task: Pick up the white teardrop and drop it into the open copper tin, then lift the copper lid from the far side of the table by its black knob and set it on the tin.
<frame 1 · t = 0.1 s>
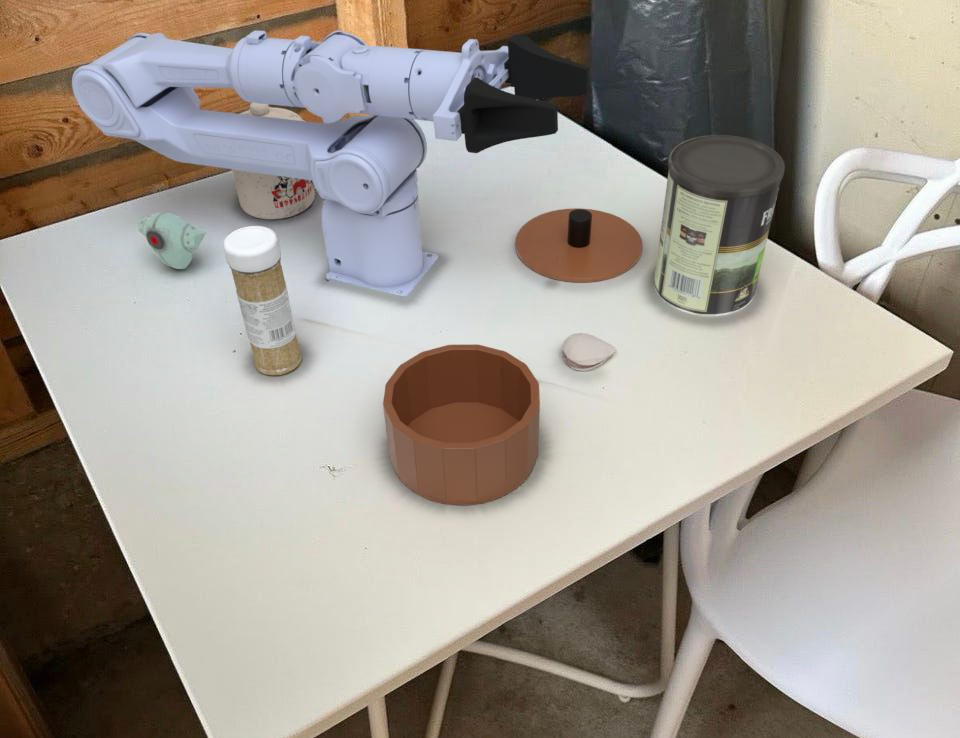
hand: (572, 99, 76), 22 cm above the table, tool horizontal, fingers open, 7 cm apart
tin: (464, 450, 79), on the table
teacup with lid: (285, 196, 108), on the table
lid: (578, 245, 98), point 1 cm above the table
coffee can: (702, 291, 94), on the table
sprinkles bottle: (278, 363, 87), on the table
robot head: (179, 271, 98), on the table
white teardrop: (588, 363, 86), on the table
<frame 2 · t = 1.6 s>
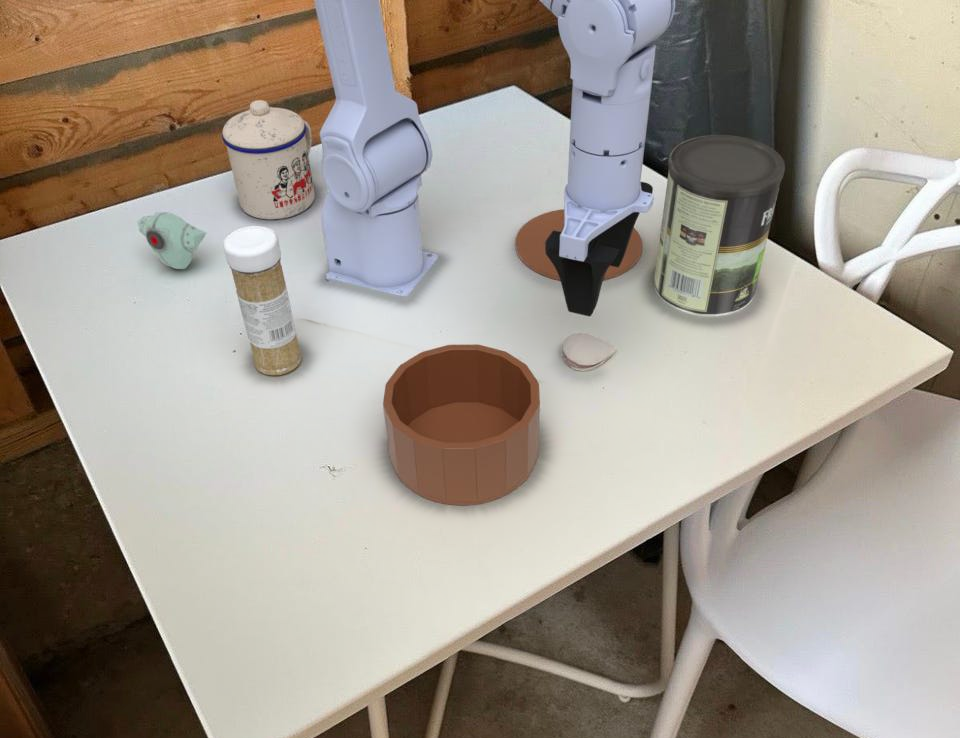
hand: (595, 286, 80), 8 cm above the table, tool pointing down, fingers open, 7 cm apart
nothing on the table moved.
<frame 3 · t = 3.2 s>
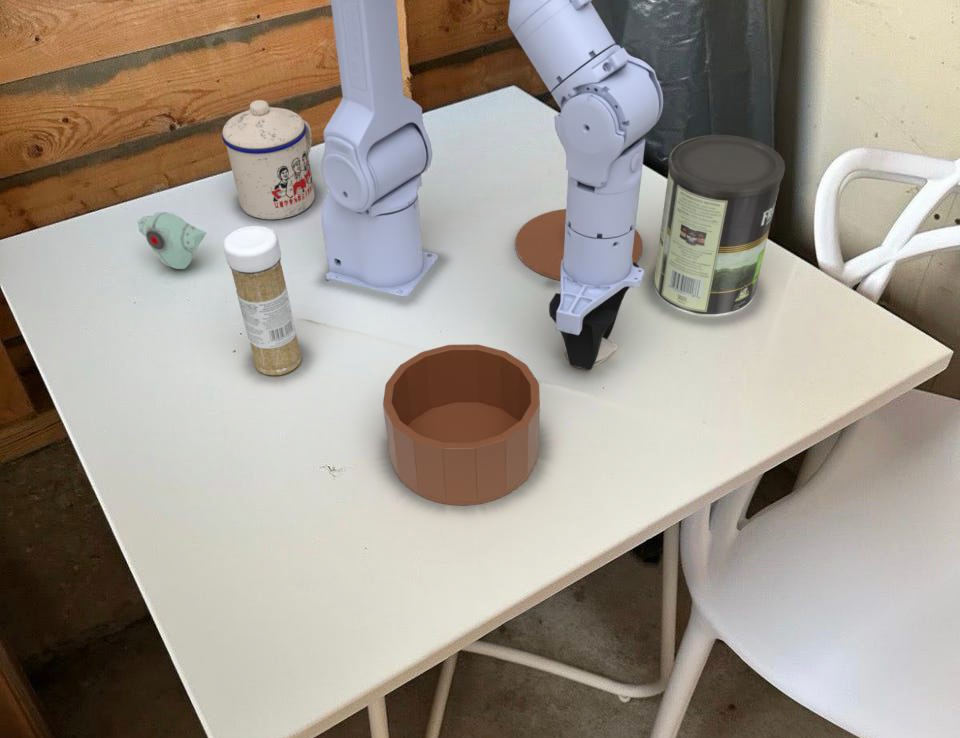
hand: (589, 350, 85), 1 cm above the table, tool pointing down, fingers closed on white teardrop, 4 cm apart
white teardrop: (589, 360, 87), on the table, touching gripper
everything else where it was.
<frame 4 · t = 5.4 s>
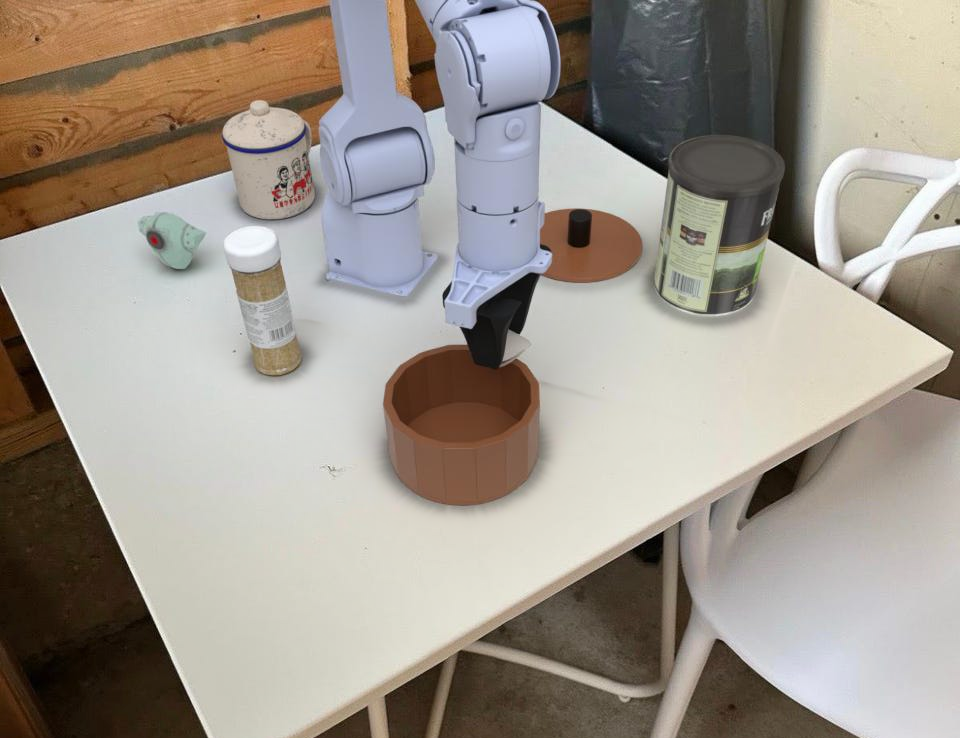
hand: (498, 346, 74), 9 cm above the table, tool pointing down, fingers closed on white teardrop, 4 cm apart
white teardrop: (500, 359, 76), point 7 cm above the table, touching gripper
everything else where it was.
when the fingers open (5 cm above the table, at t = 7.5 s): white teardrop drops 3 cm, resting on tin.
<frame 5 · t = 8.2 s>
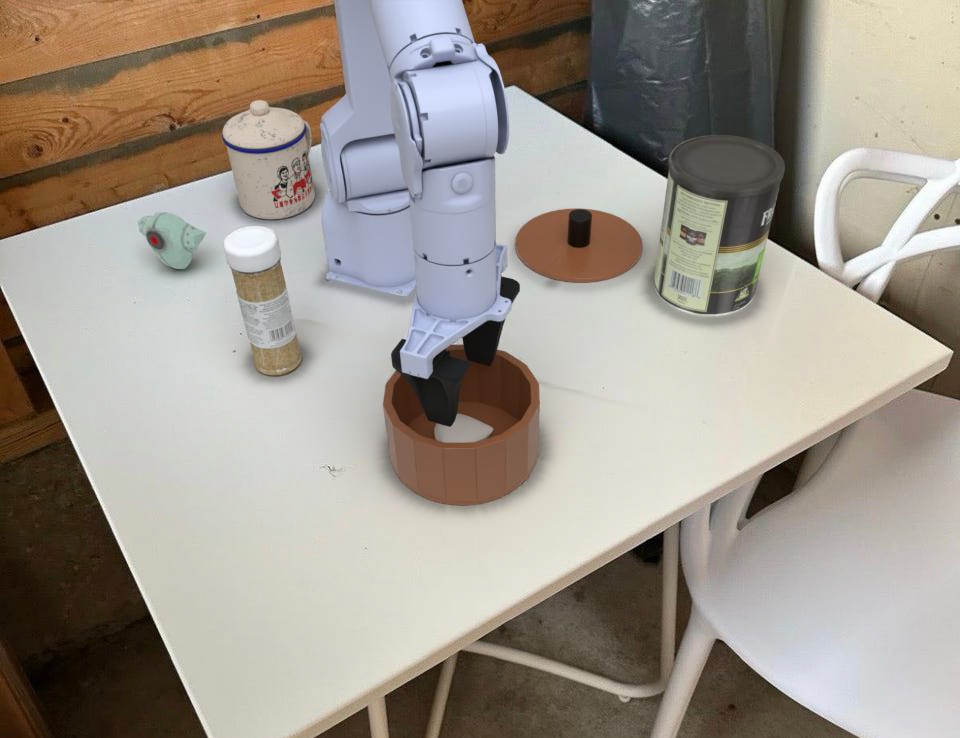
hand: (461, 390, 74), 7 cm above the table, tool pointing down, fingers open, 7 cm apart
white teardrop: (464, 445, 78), resting on tin
everything else where it was.
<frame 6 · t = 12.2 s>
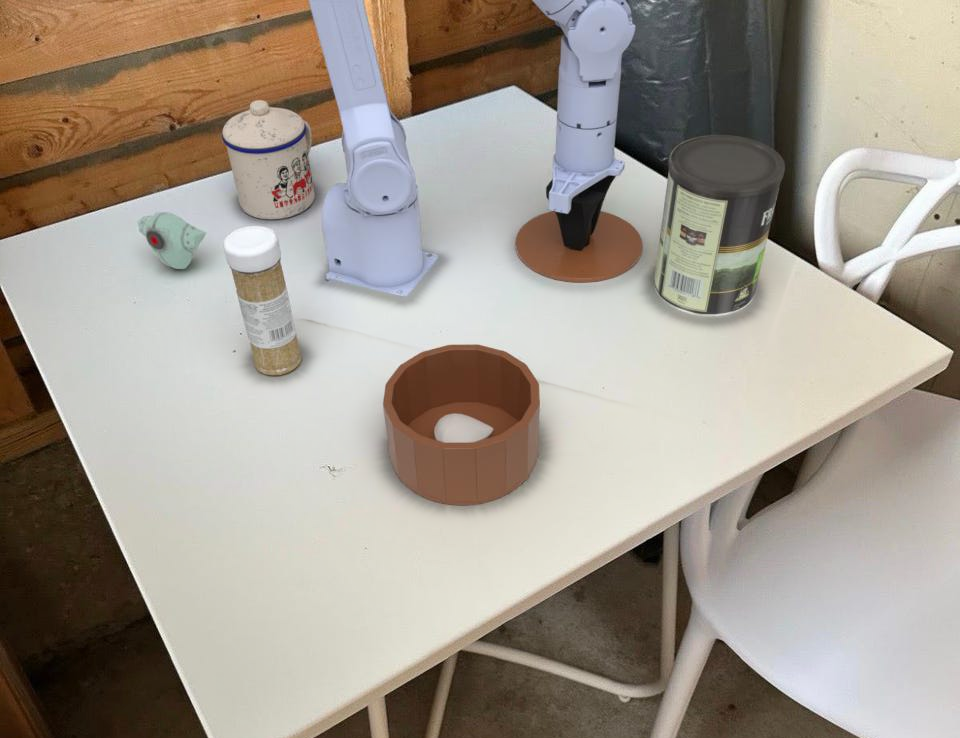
hand: (578, 239, 98), 1 cm above the table, tool pointing down, fingers closed on lid, 2 cm apart
lid: (578, 245, 99), point 1 cm above the table, touching gripper
everything else where it was.
when the fingers open (7 cm above the table, at t = 17.3 s): lid stays where it is, resting on tin.
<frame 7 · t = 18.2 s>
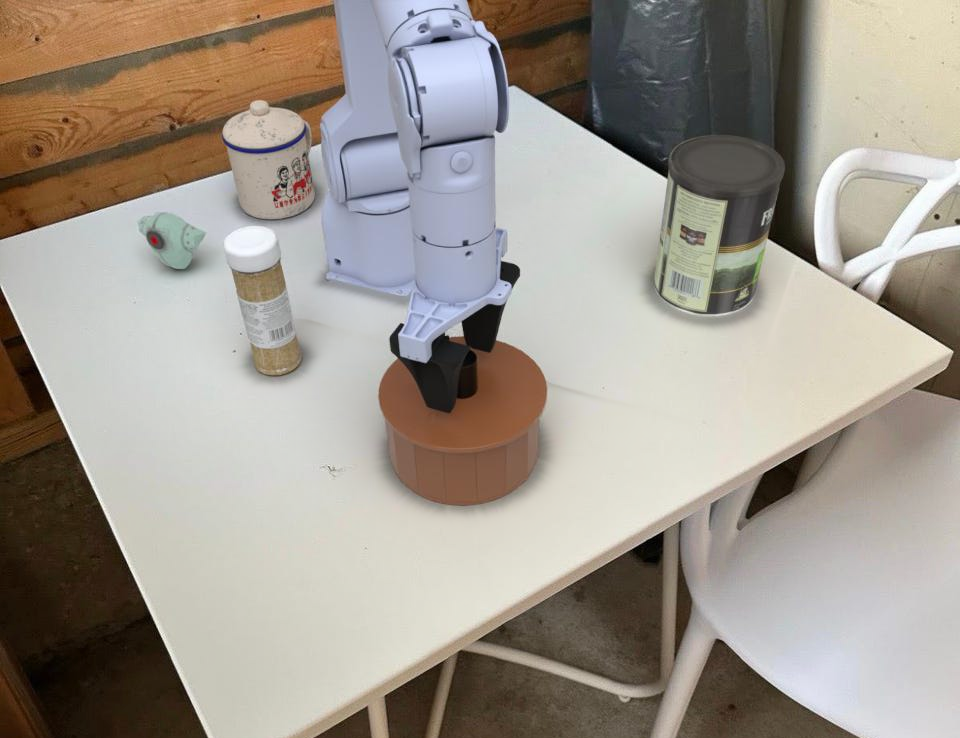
hand: (460, 376, 73), 8 cm above the table, tool pointing down, fingers open, 7 cm apart
lid: (462, 393, 74), point 6 cm above the table, touching tin
everything else where it was.
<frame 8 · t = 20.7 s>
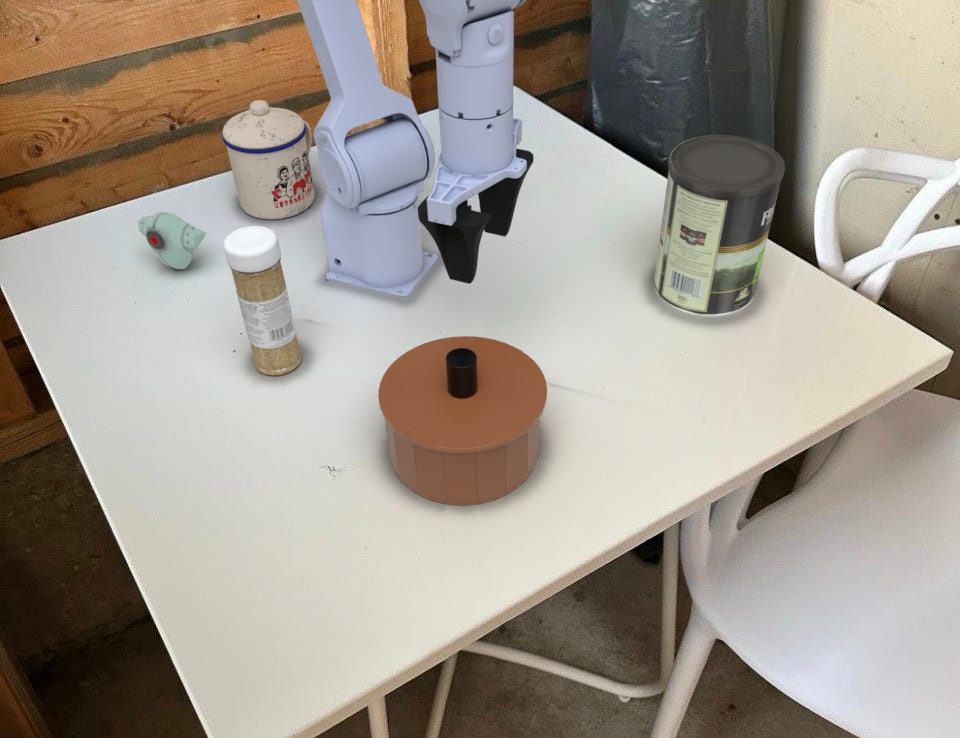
hand: (479, 255, 80), 10 cm above the table, tool pointing down, fingers open, 7 cm apart
nothing on the table moved.
at the end: white teardrop inside the target area in the tin (0.2 cm from its centre), point 0.3 cm above the tin's base; lid 0.1 cm off-centre on the tin, point 6.5 cm above the tin's base; lid tilted 0° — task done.
